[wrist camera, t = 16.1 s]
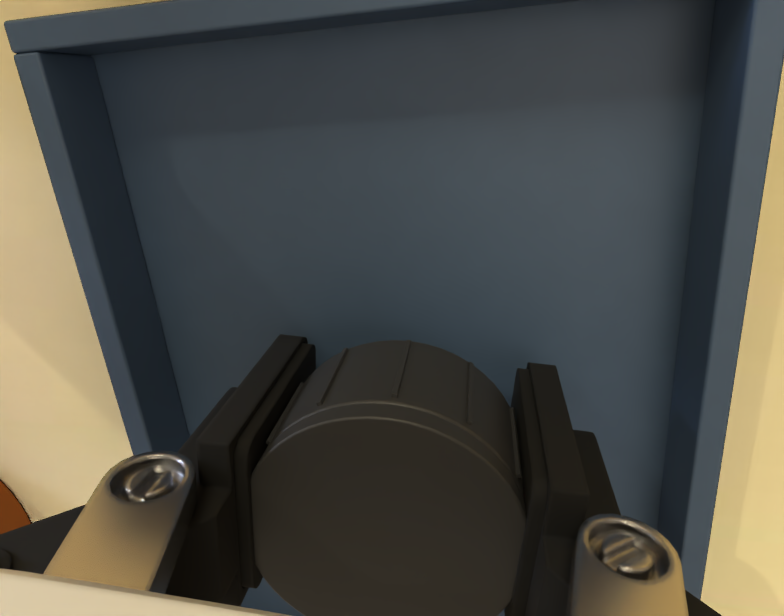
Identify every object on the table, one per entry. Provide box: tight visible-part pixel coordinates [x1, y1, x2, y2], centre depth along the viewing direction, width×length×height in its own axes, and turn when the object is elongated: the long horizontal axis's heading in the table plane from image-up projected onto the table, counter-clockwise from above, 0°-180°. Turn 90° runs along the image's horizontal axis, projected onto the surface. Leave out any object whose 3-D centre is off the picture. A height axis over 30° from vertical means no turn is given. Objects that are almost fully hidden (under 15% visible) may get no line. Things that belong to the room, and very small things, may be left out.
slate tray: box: [4, 0, 784, 616], centre depth 12 cm, size 16×12×2 cm
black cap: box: [251, 340, 526, 616], centre depth 10 cm, size 4×4×3 cm
